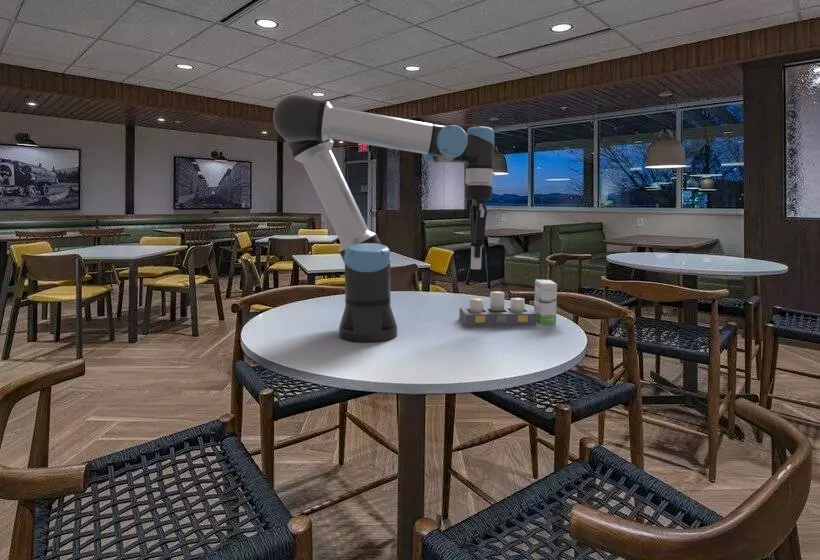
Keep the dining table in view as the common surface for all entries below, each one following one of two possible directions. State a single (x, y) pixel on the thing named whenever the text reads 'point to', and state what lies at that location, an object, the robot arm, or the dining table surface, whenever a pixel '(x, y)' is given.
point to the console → (497, 317)
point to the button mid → (497, 301)
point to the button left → (476, 305)
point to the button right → (517, 305)
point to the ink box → (545, 301)
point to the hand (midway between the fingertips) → (475, 268)
